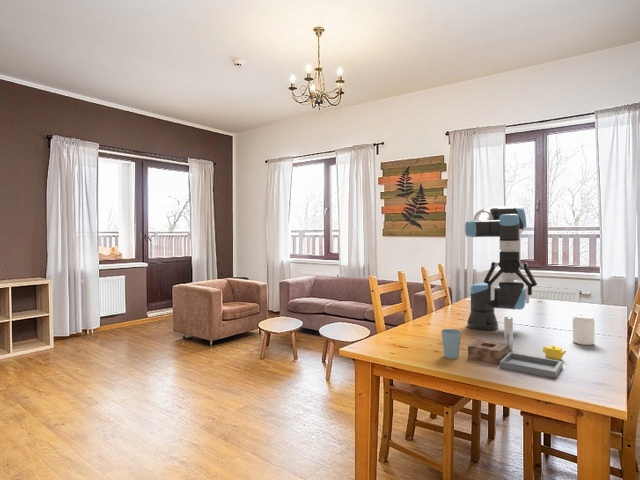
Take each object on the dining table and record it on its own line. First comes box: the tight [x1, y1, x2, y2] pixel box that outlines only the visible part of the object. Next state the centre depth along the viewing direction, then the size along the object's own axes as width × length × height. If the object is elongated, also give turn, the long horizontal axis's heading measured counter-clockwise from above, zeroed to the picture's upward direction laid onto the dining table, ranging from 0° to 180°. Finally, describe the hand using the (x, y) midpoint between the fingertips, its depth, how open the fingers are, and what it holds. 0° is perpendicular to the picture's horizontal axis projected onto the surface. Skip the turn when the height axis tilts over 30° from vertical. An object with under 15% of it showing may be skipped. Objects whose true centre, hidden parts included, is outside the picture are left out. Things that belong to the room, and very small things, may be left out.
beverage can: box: [572, 314, 596, 346], centre depth 175 cm, size 8×8×12 cm
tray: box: [499, 352, 564, 380], centre depth 145 cm, size 18×14×2 cm
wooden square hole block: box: [467, 338, 510, 365], centre depth 157 cm, size 12×12×5 cm
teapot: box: [542, 345, 567, 361], centre depth 155 cm, size 8×6×5 cm
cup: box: [440, 328, 462, 360], centre depth 159 cm, size 8×8×10 cm
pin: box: [503, 316, 514, 353], centre depth 166 cm, size 3×3×14 cm
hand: (509, 301), depth 165 cm, fingers open, 13 cm apart
